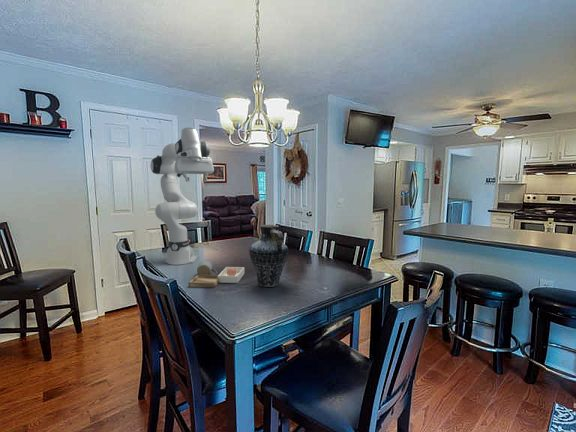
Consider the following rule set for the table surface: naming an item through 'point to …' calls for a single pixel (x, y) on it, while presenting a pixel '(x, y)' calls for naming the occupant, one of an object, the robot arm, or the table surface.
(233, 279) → the white storage bin
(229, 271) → the ball
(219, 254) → the table surface
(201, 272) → the ceramic mug
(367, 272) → the table surface
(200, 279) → the tray
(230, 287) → the table surface
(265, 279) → the jug
